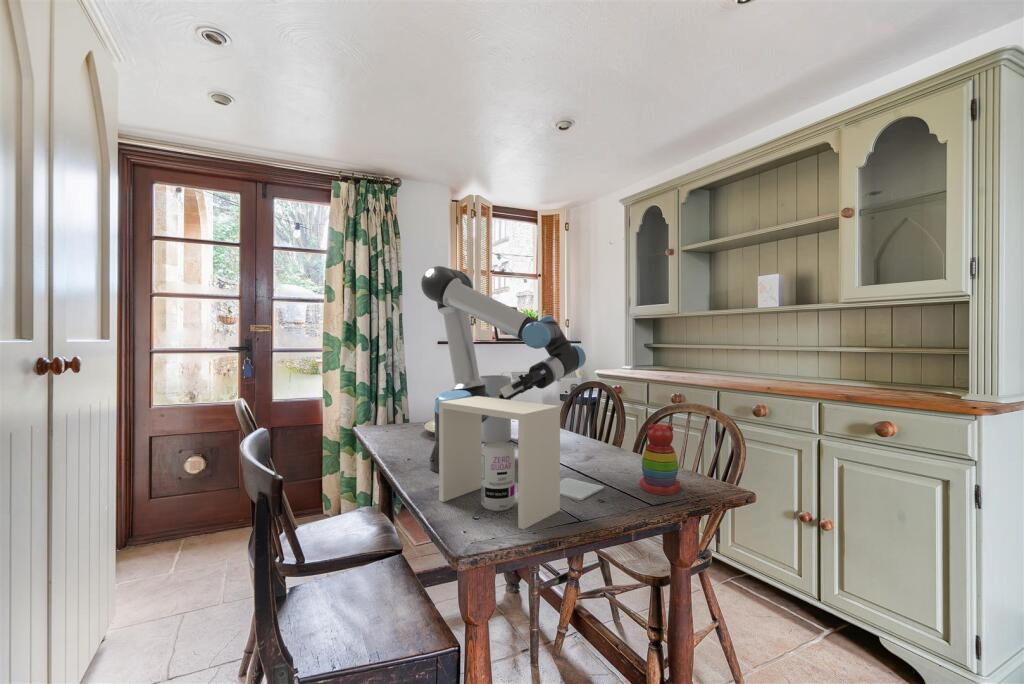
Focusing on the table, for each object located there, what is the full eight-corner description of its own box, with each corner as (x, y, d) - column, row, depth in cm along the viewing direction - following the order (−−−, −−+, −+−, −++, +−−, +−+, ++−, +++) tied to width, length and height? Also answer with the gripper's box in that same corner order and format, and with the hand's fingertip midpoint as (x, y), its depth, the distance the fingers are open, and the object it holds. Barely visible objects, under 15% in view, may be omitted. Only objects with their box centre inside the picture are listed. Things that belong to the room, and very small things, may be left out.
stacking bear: (680, 485, 130) (681, 421, 130) (681, 497, 121) (681, 428, 121) (640, 481, 134) (640, 419, 134) (637, 493, 124) (638, 426, 124)
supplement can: (498, 497, 121) (498, 439, 121) (521, 505, 115) (521, 444, 115) (474, 505, 115) (474, 444, 115) (497, 514, 109) (497, 450, 109)
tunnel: (523, 529, 101) (523, 413, 101) (439, 500, 118) (439, 401, 118) (559, 510, 112) (560, 406, 112) (477, 486, 129) (477, 396, 129)
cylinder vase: (481, 436, 191) (481, 375, 191) (512, 437, 190) (512, 375, 189) (476, 443, 179) (476, 378, 178) (509, 444, 177) (509, 378, 177)
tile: (581, 500, 119) (581, 498, 119) (542, 490, 126) (542, 488, 126) (604, 488, 128) (604, 486, 128) (566, 479, 136) (566, 477, 136)
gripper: (574, 367, 133) (519, 398, 120) (532, 396, 152) (482, 425, 140) (560, 345, 134) (504, 373, 121) (520, 377, 154) (469, 403, 141)
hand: (492, 401), depth 131 cm, fingers open, 13 cm apart
